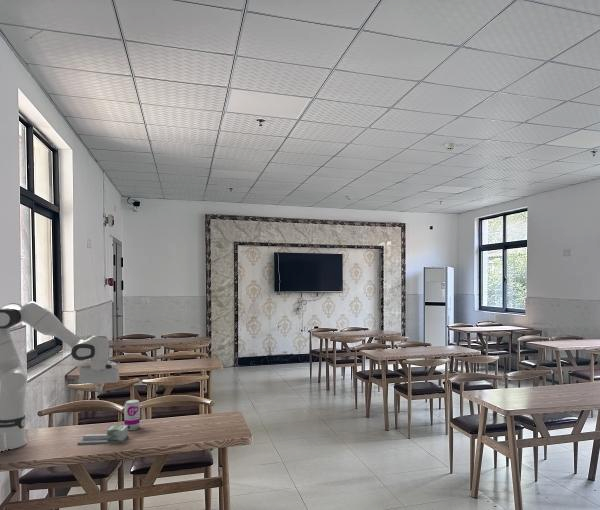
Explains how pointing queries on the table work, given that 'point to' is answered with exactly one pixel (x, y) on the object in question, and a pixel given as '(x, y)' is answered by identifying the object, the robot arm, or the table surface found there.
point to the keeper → (113, 432)
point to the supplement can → (132, 414)
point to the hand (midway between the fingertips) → (98, 391)
